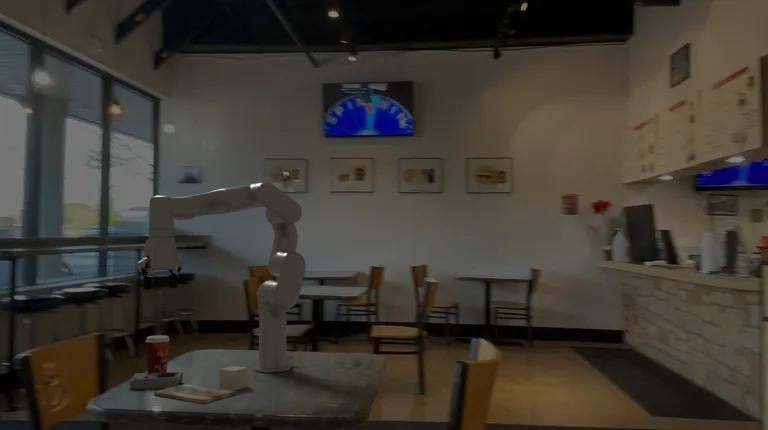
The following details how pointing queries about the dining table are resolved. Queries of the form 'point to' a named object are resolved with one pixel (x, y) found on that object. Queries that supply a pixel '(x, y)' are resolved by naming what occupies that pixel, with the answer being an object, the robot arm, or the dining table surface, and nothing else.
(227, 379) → the cream cube
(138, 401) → the dining table surface
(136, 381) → the handheld gaming device
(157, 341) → the paper cup
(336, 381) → the dining table surface
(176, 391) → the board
